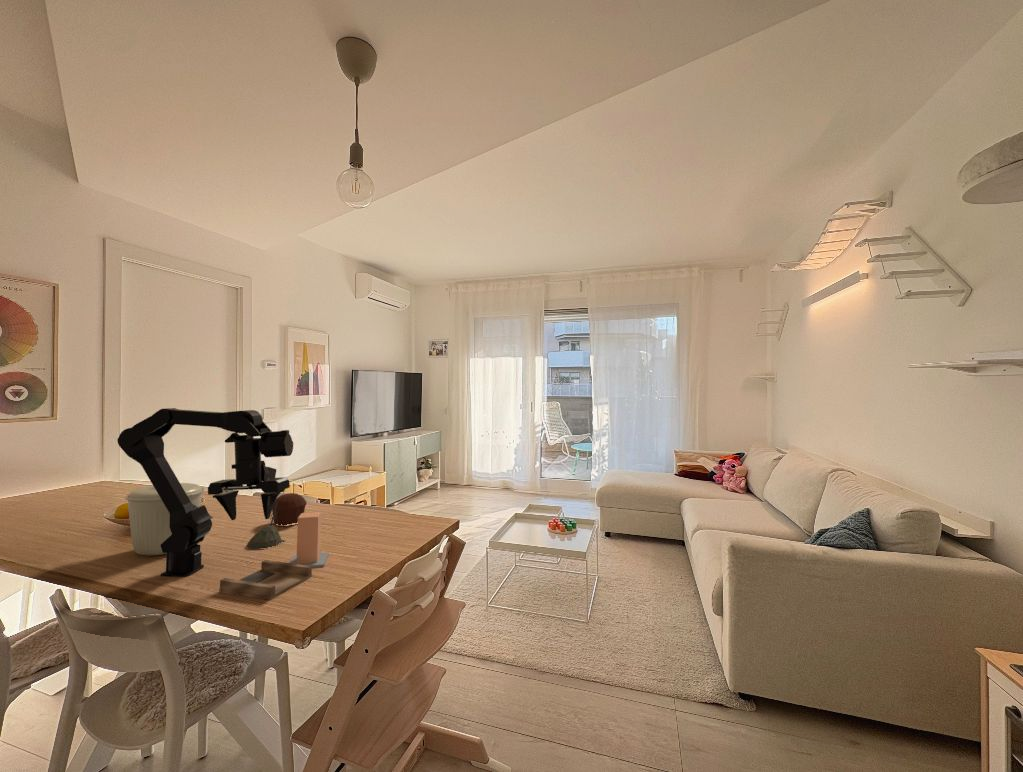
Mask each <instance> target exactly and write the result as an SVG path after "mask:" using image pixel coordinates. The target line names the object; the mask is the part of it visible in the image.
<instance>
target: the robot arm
mask: <svg viewBox="0 0 1023 772" xmlns="http://www.w3.org/2000/svg"><path fill="white" fill-rule="evenodd" d="M175 425H181V426H182V425H183V426H196V427H197V426H198V427H211V428H212V427H213V428H219V429H222V430H224V431H227V432H232V433H231V434H230V435H229V436H228V437H227V438H226V439H225V440H224V443H227V444H228V443H234V464H233V463H232V464H231V470H234V469H235V479H234V478H233V479H232V478H230V479H221V480H217V481H213V482H210V483H209V484H208V487H207V495H210V496H211V495H212V498H213V499H216V500H217V501H218V503H219V505H220V506H222V508H223V509H224V511H225V512H226V513H227V515H228V517H229V519H230V520H231V521H236V519H237V496H238V494H239V491H241V490H243V491H245V490H261V491H262V492H263V493H261V494H260V498H261V505H262V511H263V515H264V519H265V520H269V519H270V518H271V514H272V513H273V512H272V509H273V506H274V503H275V501H276V499H277V498H278V497H279V496H280V494H281V493H284V492H285V490H287V489H288V488H290V487H291V486H290V480H289V479H288V477H287V476H286V477H285V476H284V477H282V476H281V477H276V475H277V469H276V468H273V467H270V466H266V462H265V460H262V455H263V456H264V457H265V458H276V457H278V458H279V457H280V458H281V457H290V456H291V455H292V453H293V451H294V441H293V438H292V436H291V434H290V430H289V429H284V430H278V431H272V430H271V428H270V427H269V426H268V425H267V424H266V423H265V421H263V417H262V414H261V413H260V412H259V411H257V410H254V409H249V410H234V411H233V410H232V411H224V412H222V411H221V412H219V411H206V410H204V411H203V410H194V409H193V410H190V409H179V408H174V407H172V408H171V407H169V408H161V409H159V410H157V411H156V412H154V413H153V414H152V415H150V416H149V417H147V418H144V419H142V420H141V421H138V423H136V424H135V425H133V426H132V427H128V428H125V429H124V430H122V431H121V432H120V434H119V436H118V438H117V440H116V441H117V444H118V446H119V447H120V448H121V450H122V451H123V452H124V454H125V455H126V456H127V457H129V458H130V459H131V460H134V461H135V462H137V463H138V464H139V465H140V466H141V468H142V469H143V471H144V472H145V473H146V476H147V478H148V480H149V481H150V483H151V484H152V486H154V488H155V490H156V491H157V493H158V495H159V496H160V498H161V500H162V502H163V503H164V505H165V507H166V508H167V510H168V512H169V514H170V519H169V527H170V530H171V533H172V535H171V536H170V537H169V538H167V539H166V540H165V541H164V542H163V543H162V544H161V545H160V546H161V549H162V552H163V553H167V554H165V557H166V559H165V561H166V562H165V571H163V572H161V573H160V577H188V576H189V575H191V574H193V573H196V571H199V570H201V569H202V568H204V567H205V564H202V556H203V555H202V551H201V544H200V543H202V542H204V539H205V538H206V536H207V535H209V533H210V531H211V530H212V527H213V522H212V519H213V516H212V515H210V514H209V512H208V509H207V507H206V505H205V504H203V505H200V507H197V506H195V505H194V504H192V503H191V501H190V500H189V498H188V496H187V494H186V493H185V491H184V489H183V488H182V486H181V484H180V483H181V482H180V480H179V478H178V477H177V476H176V473H175V472H174V470H173V468H172V467H171V464H169V462H168V460H167V458H166V457H165V442H164V439H163V437H164V436H166V435H167V434H168V433H170V431H171V430H172V428H174V426H175Z"/></svg>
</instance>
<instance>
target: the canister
mask: <svg viewBox="0 0 1023 772" xmlns="http://www.w3.org/2000/svg"><path fill="white" fill-rule="evenodd" d="M180 484H181V486H182V488H183V489H184V491H185V493H186V494H187V496H188V498H189V500H190V501H191V503H192V504H194V505H195V506H197V507H200V506H202V505H201V504H202V498H203V493H205V491H206V488H205V487H203V486H201V485H199V484H197V483H189V482H180ZM124 499H125V500H126V501H127V506H128V507H127V508H128V519H129V527H130V534H131V542H132V547H133V549H134V550H133V551H135V552H136V553H137V554H138V555H141V556H151V557H152V556H159V555H160V556H161V555H166V554H167V553H163V552H162V549H161V546H160V545H161V544H162V543H163V542H164V541H165V540H166V539H167V538H169V537H170V536H171V535H172V533H171V530H170V527H169V519H170V514H169V512H168V510H167V508H166V507H165V505H164V503H163V502H162V500H161V498H160V496H159V495H158V493H157V491H156V490H155V488H154V486H153V485H148V486H143V487H139V488H136V489H134V490H132V491H131V492H130V493H127V494H126V495H125V496H124Z"/></svg>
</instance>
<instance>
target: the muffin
mask: <svg viewBox="0 0 1023 772" xmlns="http://www.w3.org/2000/svg"><path fill="white" fill-rule="evenodd" d="M276 502H278V503H277V507H276V510H275V506H276ZM306 506H307V500H306V499H305V497H304V496H302V495H300V494H298V493H296V492H295V493H294V492H290V493H285V494H284V493H283V494H281V495H278V497H277V499H276V501H275V503H274V506H273V509H272V512H271V513H273V512H274V510H275V514H276V517H275V515H274V518H275V520H274V519H273V524H274V523H275V524H278V525H281V524H282V525H287V524H292V523H297V522H298V517H299V516H300V515H301V513H305V512H306V511H305V509H306Z"/></svg>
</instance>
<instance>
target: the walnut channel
mask: <svg viewBox="0 0 1023 772" xmlns="http://www.w3.org/2000/svg"><path fill="white" fill-rule="evenodd" d="M260 567H261V569H260V570H257V571H254V572H253V573H250V574H249V575H247V576H244V577H242V578H240V579H233V578H227V577H224V578H222V579H220V580H219V590H218V591H219V593H224V594H231V595H236V596H243V597H250V598H255V599H262V600H268V601H272V600H274V599H275V598H277V597H278V596H280V595H282V594H284V593H285V592H287V591H289V590H291V589H292V588H294V587H296V586H297V585H300V584H301V583H303V582H305V581H306V580H308V579H310V578H312V577H313V574H312V573H313V570H312V569H313V568H312V566H307V565H300V564H292V563H289V562H281V561H277V560H276V561H275V560H269V559H264V560H262V561H261V566H260Z"/></svg>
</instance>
